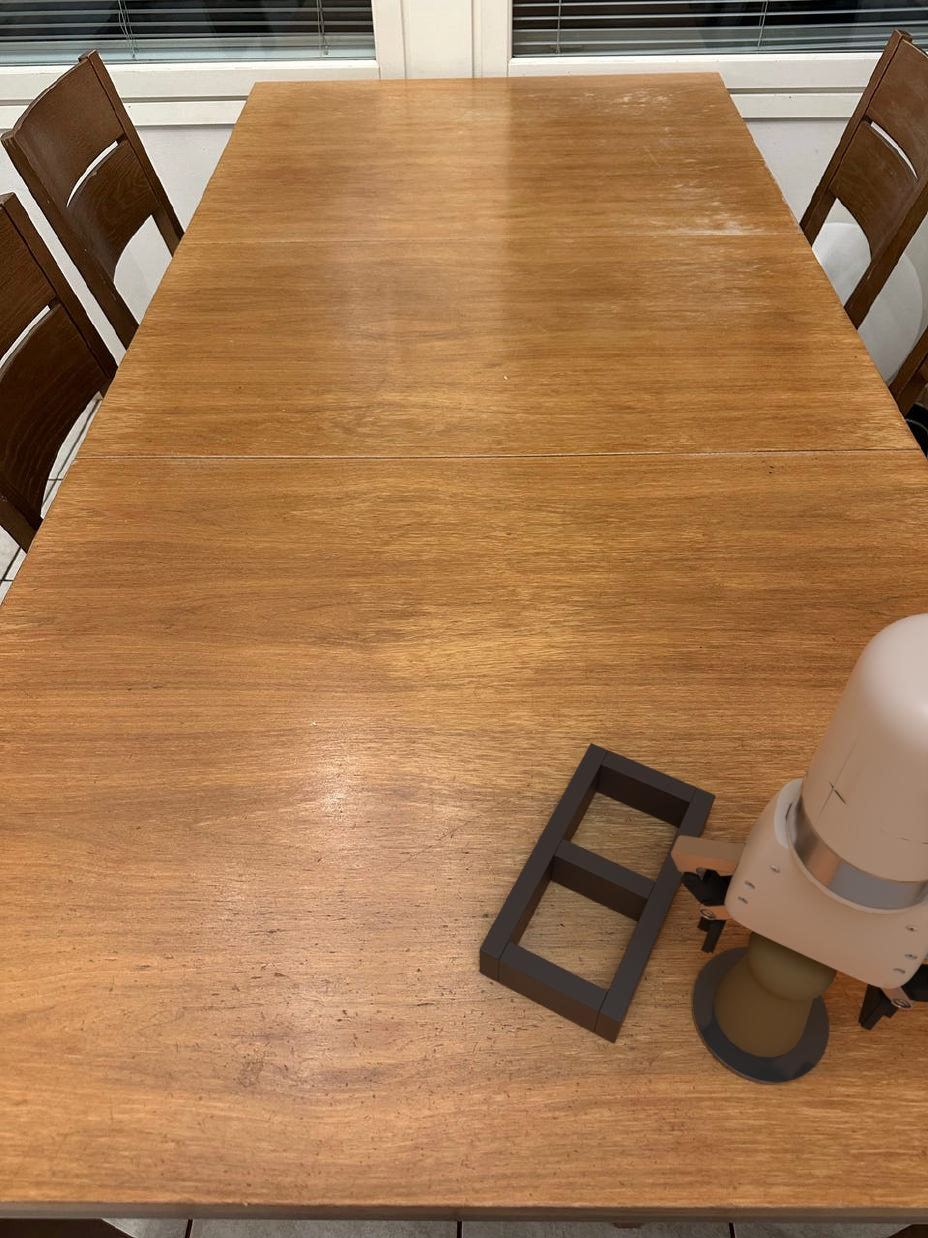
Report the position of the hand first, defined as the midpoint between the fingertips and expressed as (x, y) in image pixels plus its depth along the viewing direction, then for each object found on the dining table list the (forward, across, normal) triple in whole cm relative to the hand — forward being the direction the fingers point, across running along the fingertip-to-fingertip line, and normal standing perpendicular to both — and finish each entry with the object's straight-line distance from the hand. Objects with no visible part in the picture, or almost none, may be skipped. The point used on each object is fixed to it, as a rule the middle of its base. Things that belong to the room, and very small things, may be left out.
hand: (788, 968), depth 58 cm
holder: (+8, +13, -3) cm, 16 cm away
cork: (+8, 0, 0) cm, 8 cm away
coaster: (+8, 0, 0) cm, 8 cm away
